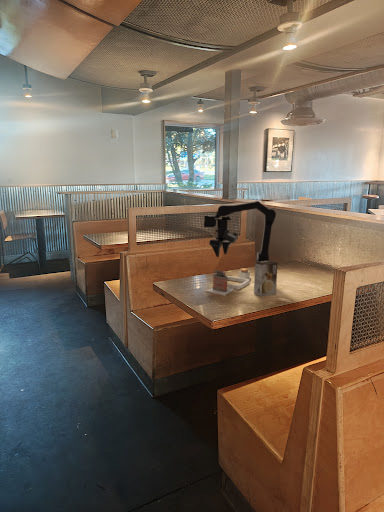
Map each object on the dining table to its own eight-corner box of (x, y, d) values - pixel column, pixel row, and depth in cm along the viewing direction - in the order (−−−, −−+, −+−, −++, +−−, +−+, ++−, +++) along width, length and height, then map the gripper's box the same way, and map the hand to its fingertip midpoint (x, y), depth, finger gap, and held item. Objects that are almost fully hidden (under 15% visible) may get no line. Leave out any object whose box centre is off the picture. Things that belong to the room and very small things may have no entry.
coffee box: (267, 290, 184) (269, 259, 181) (276, 294, 179) (278, 262, 175) (253, 293, 180) (254, 261, 176) (261, 296, 174) (263, 264, 171)
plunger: (249, 276, 204) (249, 269, 203) (246, 278, 200) (246, 270, 199) (242, 275, 206) (242, 267, 205) (238, 277, 202) (239, 269, 201)
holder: (255, 279, 203) (256, 272, 202) (238, 289, 185) (239, 281, 184) (233, 275, 210) (234, 268, 209) (215, 285, 192) (215, 277, 191)
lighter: (228, 290, 181) (229, 271, 178) (224, 292, 178) (225, 273, 176) (214, 287, 185) (215, 268, 183) (211, 289, 183) (211, 270, 180)
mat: (233, 290, 184) (233, 289, 184) (224, 295, 176) (224, 294, 175) (216, 286, 189) (216, 285, 189) (206, 291, 181) (206, 290, 181)
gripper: (227, 231, 187) (226, 260, 190) (243, 227, 202) (241, 254, 206) (209, 229, 193) (208, 258, 196) (225, 225, 208) (224, 252, 212)
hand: (221, 255), depth 202 cm, fingers open, 9 cm apart
